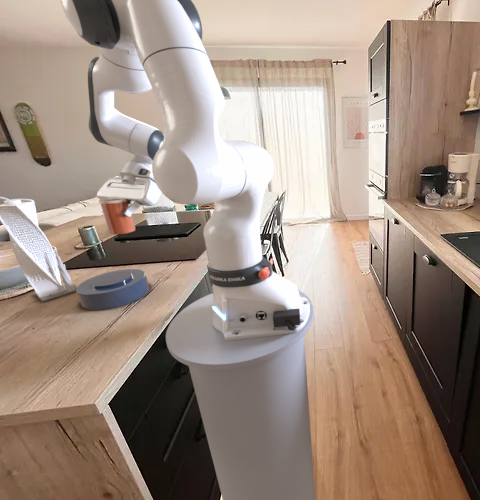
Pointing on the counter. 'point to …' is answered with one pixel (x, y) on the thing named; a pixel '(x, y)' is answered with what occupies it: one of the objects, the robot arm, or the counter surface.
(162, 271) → the counter surface
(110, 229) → the terracotta cup
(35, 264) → the skyscraper
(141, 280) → the blue round puck
